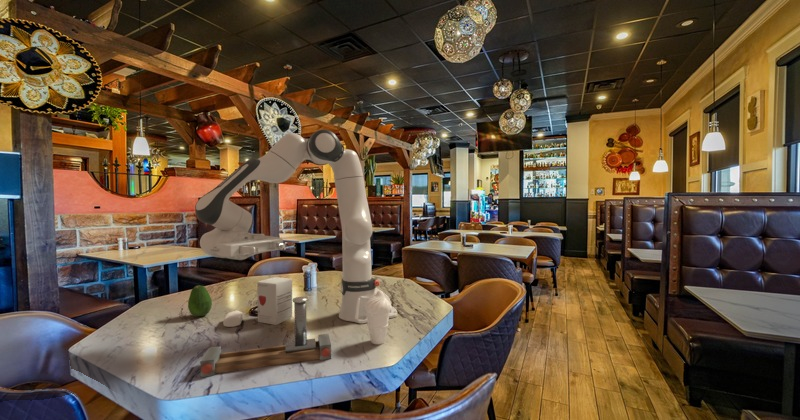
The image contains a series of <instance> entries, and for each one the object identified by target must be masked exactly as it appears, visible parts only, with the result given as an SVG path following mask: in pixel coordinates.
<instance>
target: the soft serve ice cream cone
mask: <svg viewBox="0 0 800 420" xmlns="http://www.w3.org/2000/svg"><path fill="white" fill-rule="evenodd" d="M384 293H385V292H384V291H382V290H381V291H378V292H377V293H376V295H374V296H373V297H371V298H370V299H369V300H367V301H366V304H365V305H364V306H365V310H366V315H367V323H366V324H367V325H366V326H367V328H368V333H369V337H370V342H371V344H372V345H382V344H385V342H386V337H387V332H388V327H389V319H390V318H389V314H390V313H389V312H390V310H391V306H392V303H391V304H390V302H389V301H388V300H387V299H386V298H385V296H384Z"/></svg>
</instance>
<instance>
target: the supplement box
mask: <svg viewBox="0 0 800 420" xmlns="http://www.w3.org/2000/svg"><path fill="white" fill-rule="evenodd" d="M256 283H257V323H263V324H267V325H268V324H269V325H274V326H277V325H279V324H281V323H283V322H286V321H287V320H290V319H292V318H293V279H292V278H288V277H278V276H273V277H269V278H267V279H262V280H259V281H257V282H256Z"/></svg>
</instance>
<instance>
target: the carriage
mask: <svg viewBox="0 0 800 420" xmlns="http://www.w3.org/2000/svg"><path fill="white" fill-rule="evenodd" d="M308 300H309V299H308V297H307V296H296V297H294V298H293V297H292V303H294V304H293V305H294V307H293V309H294V313H293V314H294V340H291V341H286V342H285V345H286V353H290V352H298V351H306V350H313V349H316V342H315V341H316V338H310V339H309V338H308V337H307V328H308V327H307V302H308ZM307 338H308V339H307Z"/></svg>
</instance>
